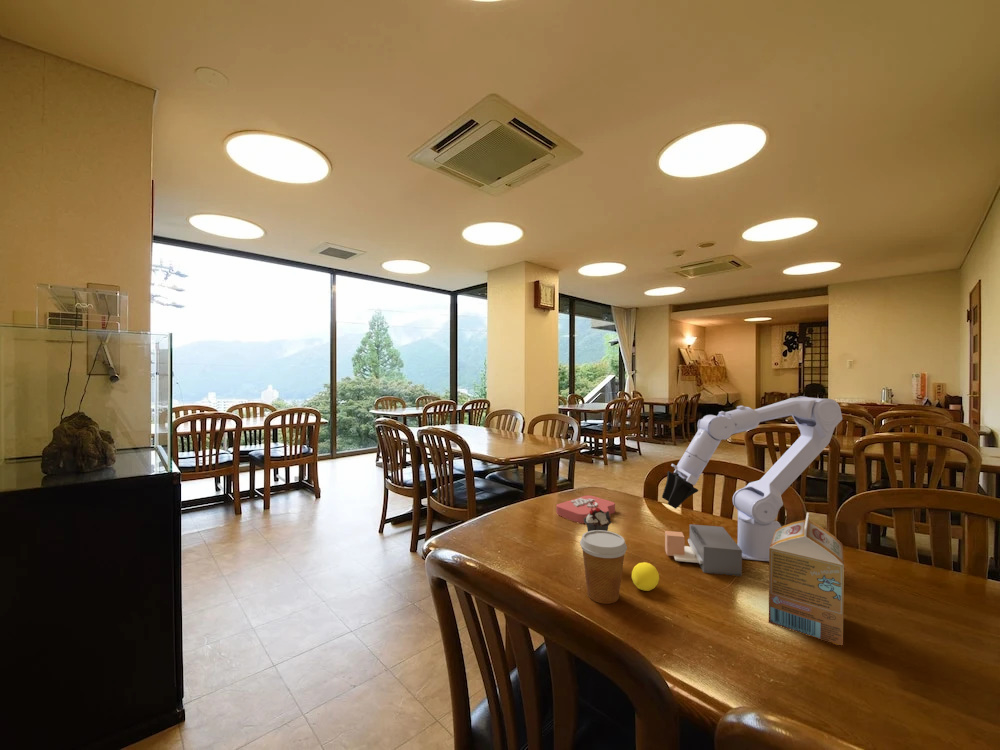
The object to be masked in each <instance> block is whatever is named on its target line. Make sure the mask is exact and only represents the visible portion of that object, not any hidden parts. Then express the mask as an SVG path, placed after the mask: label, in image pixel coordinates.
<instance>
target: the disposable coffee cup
mask: <svg viewBox="0 0 1000 750" xmlns="http://www.w3.org/2000/svg"><path fill="white" fill-rule="evenodd" d="M579 546H581V547H580V548H581V549H582V557H583V558H582V559H583V567H584V575H585V582H586V590H587V596H588V598H590V599H591V600H592V601H594V602H596V603H599V604H603V605H604V604H605V605H609V604H614V603H616V602H617V601H619V598H620V590H621V582H622V575H623V567H624V558H625V554H626V551H627V549H628V546H627V544H626V541H625V537H624V536H621V534H619V533H616V532H613V531H609V530H608V531H604V530H593V531H588V530H587V531H586V532H584V533H583V534H582V536H581V539H580V540H579Z"/></svg>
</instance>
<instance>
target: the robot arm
mask: <svg viewBox="0 0 1000 750" xmlns="http://www.w3.org/2000/svg"><path fill="white" fill-rule="evenodd" d="M790 416H791V417H792V418H793V420H794V422H795V424H796V426H797V428H798V430H799V432H800V436H799V437H798V438H797V439H796V440H795V442H793V443H792V445H791V446H790V447H788V449H787V450H786V451H785V452H784V453H783V454H782V455H781V457H779V458H778V459H777V461H776V462H774V464H773V465H772V466H771V467H770V468H769V470H767V471H766V472H765V474H763V476H762V477H761V478H760V479H759V480H755V481H754V480H753V481H750V482H748V483H747V485H745V486H744V487H741V488H739V489H737V490H736V491H735V492H734V493H733V496H732V504H733V506H734V508H735V509H736V510H737V543H736V544H737V545H738V546H739V547H740V549H741V550H742V560H743V559H744V560H752V561H761V562H762V561H763V562H769V547H770V545H771V542H772V539H773V536H774V533H775V530H777V529H779V528H780V527H782V525H781V523H780V522H779V521H777V520H776V519H777V517H778V514H779V511H780V509H781V508H782V507H783V506H784V501H783V499H782V495H783V494H784V493H785V492H786V490H788V488H789V487H790V486H792V484H793V482H795V481H796V480H797V479H798V477H799V476H800V475H801V474H802V473H803V472H805V470H806V469H807V468H808V467H809V466H810V465H811V464H812V462H813V461H814V460H815V459H816V458H817V457H818V456H819V455H820V454H821V453H822V452H823V451H824V449H825V448H827V446H828V445H829V444H830V442H831V439H832V437H833V433H834V431H835V428H836V427H837V426H838V425H839V424H840V422H842V420H843V414H842V411H841V406H840V404H839V403H838V402H837V401H836V400H834V399H831V398H819V397H818V398H817V397H808V396H804V395H802V396H801V395H800V396H796V397H790V398H787V399H785V400H781V401H777V402H774V403H772V404H767V405H764V406H762V407H759V408H754V409H753V408H751V407H749V406H744V405H737V406H736V409H732V410H729V411H723V410H721V411H718V414H717V415H714V414H706V415H704V416H703V417H702V418H701V419H700V418H699V419H698V421H697V432H696V433H695V435H694V436H693V438H692V439H691V442H689V445H688V447H686V449H685V451H684V453H683V455H682V456H681V458H680V460H679V461H678V462H677V465H675V464H674V463H671V465H670V466H671V467H672V468H673V469H674V471H673V473H672V472H671V471H667V472H666V473H667V474H666V483H665V486H664V489H663V492H662V496H661V498H662V499H664V500H665V501H667V505H668V506H671V507H672V508H674V509H675V510H676V509H678V508H679V506H681V505H682V504H683V503H684V502H685V501H686V500H687V499H688V498H689V497H691V496H693V495H694V494H696V493H698V492H699V489H698V488H696V487H695V486H696V484H697V483H698V482H699V479H700V476H701V475H702V473H703V471H704V469H705V468H706V467H707V465H708V463H709V461H710V460H711V458H712V457H713V455H714V453H715V451H716V450H717V449H718V447H719V445H720V443H721V441H722V440H728V439H730V437H731V436H733V435H734V434H738V433H743V432H746V431H751V430H753V429H757V427H758V426H759V425H760V423H762V422H767V421H771V420H772V421H773V420H775V419H781V418H786V417H790Z"/></svg>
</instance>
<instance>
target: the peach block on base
mask: <svg viewBox="0 0 1000 750" xmlns="http://www.w3.org/2000/svg"><path fill="white" fill-rule="evenodd" d="M685 543H686V542H685V536H684V533H683V531H674V530H673V531H672V530H665V531H664V551H665V554H666V556H670V557H673V558H674V560H675V561H676V562H685V563H695V564H696V563H697V564H699V561H698V559H697V558H696V556H695V554H694V552H693V550H692V548H691V547H690V545H689V546H688V545H685Z"/></svg>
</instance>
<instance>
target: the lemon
mask: <svg viewBox="0 0 1000 750" xmlns="http://www.w3.org/2000/svg"><path fill="white" fill-rule="evenodd" d="M631 579H632V583H633V584H634V586H636V588H637V589H639V590H641V591H645V592H650V591H652V590H653V589H655V588H656V586H657V585H658V584H659V581H660V574H659V571H658V570H657V568H656V566H654V565H653V564H651V563H649V562H645V561H643V562H638V563H637V564H636V565H635V566H634V567H633V569H632V570H631Z"/></svg>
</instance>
